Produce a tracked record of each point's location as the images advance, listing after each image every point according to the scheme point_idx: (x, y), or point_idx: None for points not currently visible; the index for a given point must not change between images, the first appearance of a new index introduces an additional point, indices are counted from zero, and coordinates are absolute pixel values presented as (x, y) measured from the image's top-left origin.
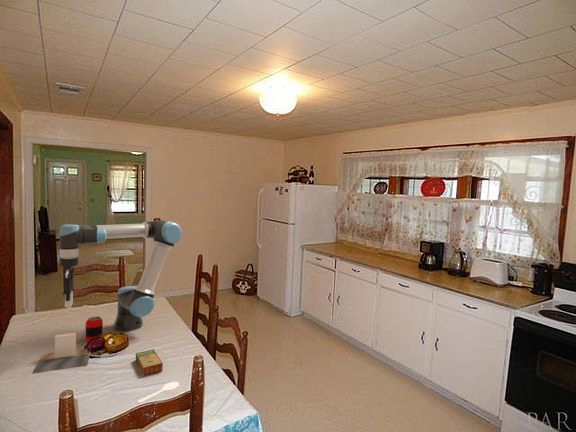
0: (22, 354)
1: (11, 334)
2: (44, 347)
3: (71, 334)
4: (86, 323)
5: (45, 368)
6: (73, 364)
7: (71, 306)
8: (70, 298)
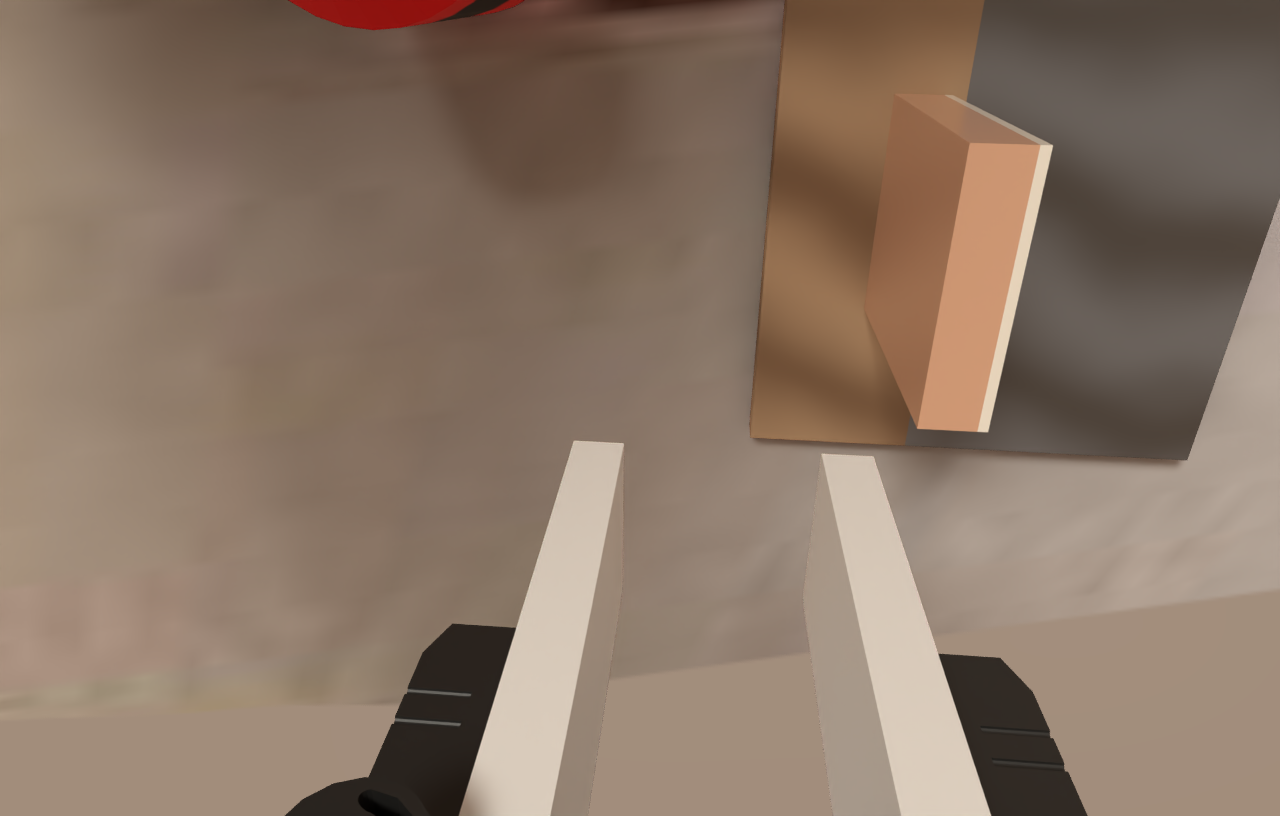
0: (627, 574)
1: (148, 703)
2: (516, 434)
3: (1016, 214)
4: (443, 9)
5: (1145, 364)
6: (1224, 88)
7: (826, 456)
8: (932, 685)
